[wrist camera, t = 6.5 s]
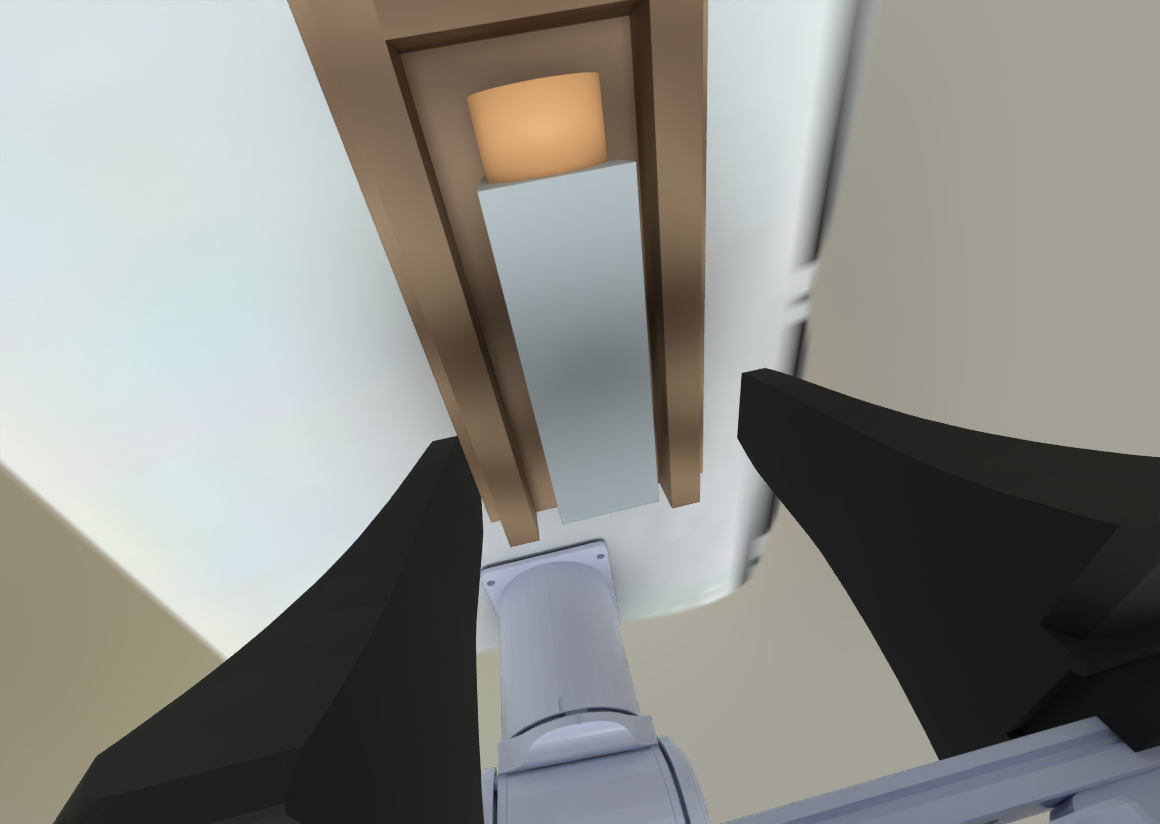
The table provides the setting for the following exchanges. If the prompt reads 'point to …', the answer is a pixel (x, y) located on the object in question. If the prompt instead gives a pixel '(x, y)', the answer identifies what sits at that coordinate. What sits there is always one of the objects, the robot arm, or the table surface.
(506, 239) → the orange-capped grey pillar
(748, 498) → the table surface
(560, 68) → the wooden rail tray
